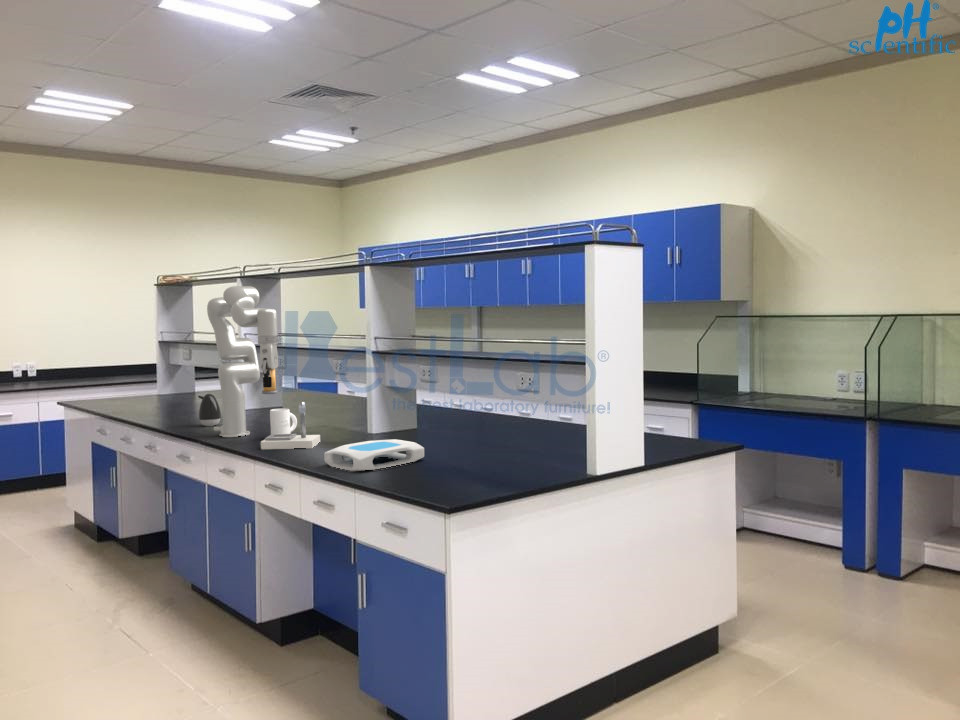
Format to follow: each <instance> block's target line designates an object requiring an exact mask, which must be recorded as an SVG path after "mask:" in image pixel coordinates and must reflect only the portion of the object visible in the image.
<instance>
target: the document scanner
mask: <svg viewBox="0 0 960 720" xmlns="http://www.w3.org/2000/svg"><path fill="white" fill-rule="evenodd" d="M400 452H405V453H406V454H405V453H400ZM323 454H324V456H323V457H324V463H326V464H327V465H329V466H330V467H331V468H333V467H336V468H335V469H337V468H340V469H339V470H342V469H345V470H344V471H346V470H350V471H349V472H366V471H365V470H373V471H376V470H375V469H380V468H386V467H391V466H396V465H400V466H402V465H401V464H405V465H407V464H406V463H410V462H413V463H415V462H417V461H419V460H421V459H422V458H424V457H425V447H423V446H422V445H421V444H418V443H417V442H414V441H409V440H402V439H397V438H395V439H378V440H367V441H360V442H355V443H354V442H353V443H349V444H344V445H340V446H337V447H335V448H332V449H330V450H327V451H325V452H324V453H323ZM344 456H345V457H346V458H344ZM377 457H388V458H387V459H391V458H393V459H392V460H394V461H388V462H384V463H377V464H376V463H375V464H374V462H373V460H374V458H376V459H378V458H377ZM396 459H398V460H396ZM350 462H353V463H350ZM410 464H411V463H410ZM396 467H397V466H396ZM391 468H392V467H391ZM386 469H387V468H386Z"/></svg>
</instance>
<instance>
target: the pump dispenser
mask: <svg viewBox="0 0 960 720" xmlns="http://www.w3.org/2000/svg"><path fill="white" fill-rule="evenodd" d="M198 398H199V399H201V401H200V404H199V410H198V420H199V423H200V424H201V426H203V425H204V427H213V426H212V425H216V426H217V425H218V424H219V423H220V422H221V419H222V411H221V408H220V407H221V406H220V404H219V402H218V400H217V398H216V396H215V395H214V394H212V393H206V394H205V395H203V396H202V395H201V394H200V395H198Z"/></svg>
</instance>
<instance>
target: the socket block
mask: <svg viewBox="0 0 960 720" xmlns="http://www.w3.org/2000/svg"><path fill="white" fill-rule="evenodd" d="M319 442H320V443H321V434H306V437H304V438H301V434H297V433H290V434H271V433H270V435H268V436H266V437H265V438H264V439H263V440H261V441H260V450H292V449H293V450H295V449H294V448H306V449H313V447H314V446H315V447H317V446H318V443H319ZM320 443H319V444H320ZM315 447H314V448H315Z"/></svg>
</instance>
